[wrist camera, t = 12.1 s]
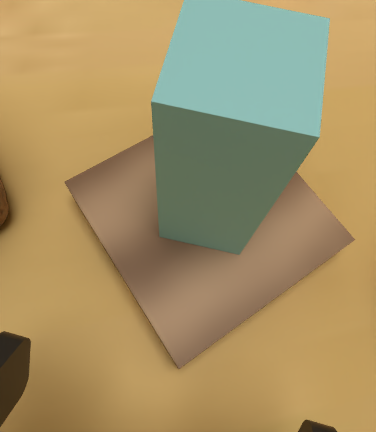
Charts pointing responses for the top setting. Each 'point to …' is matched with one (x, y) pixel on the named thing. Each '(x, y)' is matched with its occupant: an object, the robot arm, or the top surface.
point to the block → (3, 204)
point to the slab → (200, 252)
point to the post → (234, 117)
